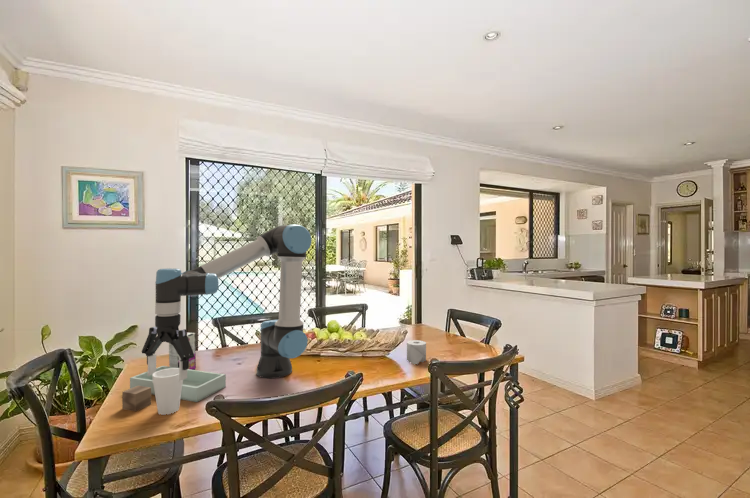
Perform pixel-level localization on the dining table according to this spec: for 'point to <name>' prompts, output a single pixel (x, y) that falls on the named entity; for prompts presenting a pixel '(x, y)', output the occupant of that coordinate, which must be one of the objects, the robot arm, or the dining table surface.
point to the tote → (187, 383)
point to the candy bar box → (175, 358)
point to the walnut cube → (136, 398)
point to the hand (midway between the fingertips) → (167, 376)
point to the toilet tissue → (416, 351)
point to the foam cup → (167, 390)
